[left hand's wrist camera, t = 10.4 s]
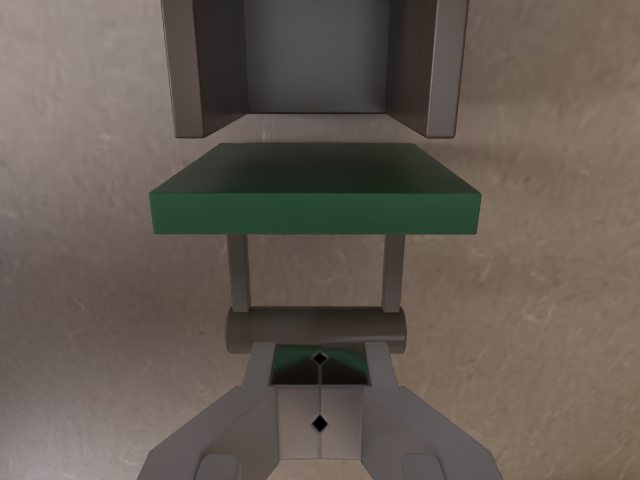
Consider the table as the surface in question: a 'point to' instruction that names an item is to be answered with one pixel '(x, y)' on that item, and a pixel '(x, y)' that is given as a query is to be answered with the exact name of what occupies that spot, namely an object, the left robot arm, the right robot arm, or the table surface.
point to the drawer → (312, 158)
